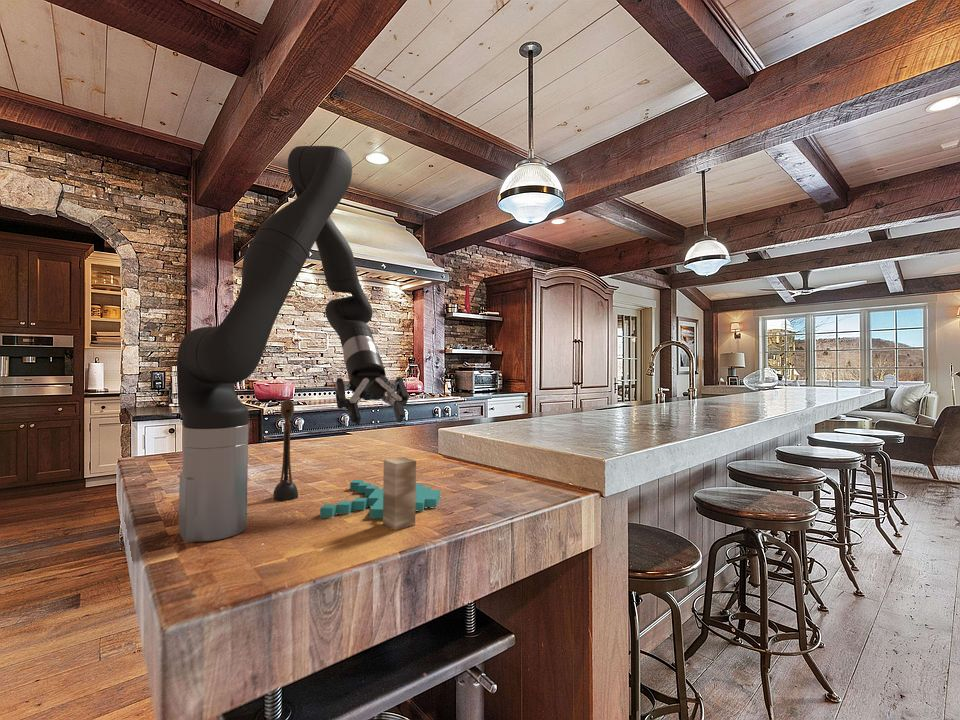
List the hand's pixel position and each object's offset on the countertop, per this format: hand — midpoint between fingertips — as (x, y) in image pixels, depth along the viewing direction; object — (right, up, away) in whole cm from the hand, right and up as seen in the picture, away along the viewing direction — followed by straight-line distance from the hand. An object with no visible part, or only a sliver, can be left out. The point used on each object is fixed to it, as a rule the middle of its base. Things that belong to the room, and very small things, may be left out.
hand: (380, 420), depth 90 cm
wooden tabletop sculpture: (-20, -16, +4) cm, 26 cm away
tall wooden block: (+5, -16, -9) cm, 20 cm away
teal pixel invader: (+1, -17, +2) cm, 17 cm away
